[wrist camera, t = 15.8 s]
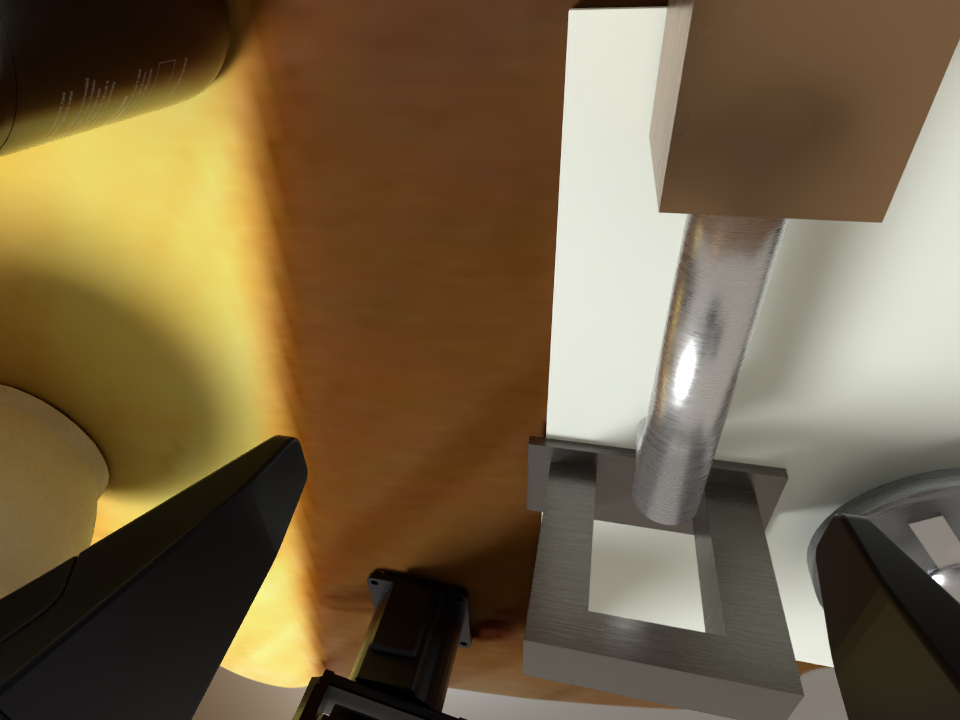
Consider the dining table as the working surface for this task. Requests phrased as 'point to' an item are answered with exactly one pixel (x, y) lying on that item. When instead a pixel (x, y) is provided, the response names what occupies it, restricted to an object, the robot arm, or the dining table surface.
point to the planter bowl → (43, 488)
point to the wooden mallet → (766, 182)
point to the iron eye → (649, 646)
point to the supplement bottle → (102, 62)
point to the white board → (776, 339)
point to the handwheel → (911, 523)
